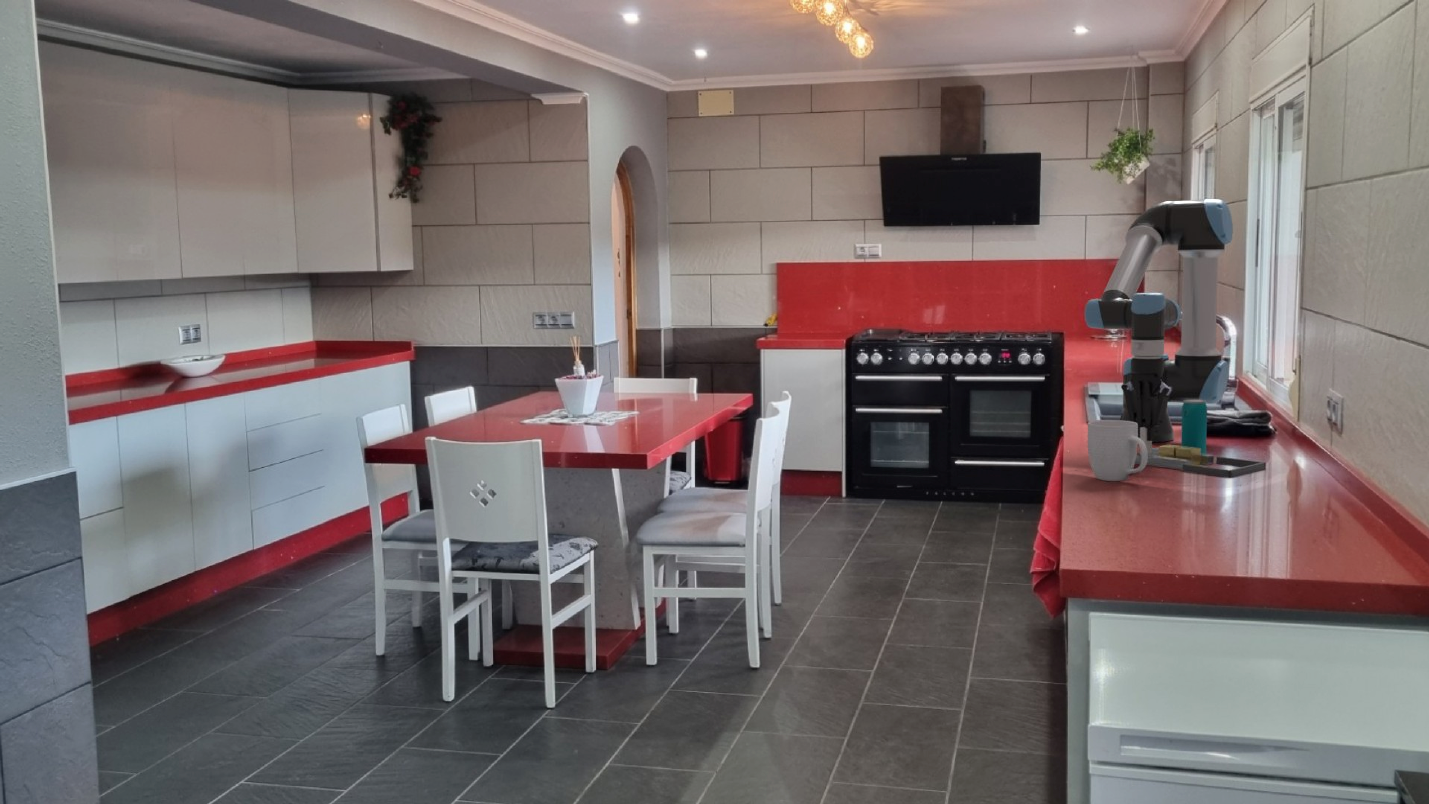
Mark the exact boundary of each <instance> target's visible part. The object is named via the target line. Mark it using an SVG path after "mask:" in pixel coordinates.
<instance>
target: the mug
mask: <svg viewBox="0 0 1429 804" xmlns="http://www.w3.org/2000/svg"><path fill="white" fill-rule="evenodd" d="M1138 446H1139V451H1140V450H1141V455H1142V459H1141V464H1139V465H1138V467H1136V468H1134V467H1135V464H1136V463H1135V460H1136V455H1137V453H1138ZM1087 453H1088V460H1089V464H1090V467H1091V470H1092V472H1093V475H1094V476H1095V477H1096V479H1098V480H1099V481H1100V480H1101V481H1107V482H1122V481H1126V480H1127V479H1128V478H1129V477H1130V475H1131V474H1136V473H1140V472H1141V471H1143V470H1144V469H1145V468H1146V466H1147V465H1146V464H1147V461H1148V451H1147V448H1146V445H1145V443H1144V442H1143V440H1141V439H1140V438H1138V424H1137V423H1136V422H1132V421H1123V420H1120V419H1097V420H1091V421H1088V422H1087Z"/></svg>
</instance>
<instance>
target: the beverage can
mask: <svg viewBox="0 0 1429 804" xmlns="http://www.w3.org/2000/svg"><path fill="white" fill-rule="evenodd" d="M1205 402H1206V401H1205V400H1199V399H1188V400H1184V403H1182V406H1181V437H1180V438H1181V442H1180V443H1181V444H1180V446H1183V447H1185V446H1186V447H1194V448H1201V454H1207V431H1208V430H1207V428H1208V427H1207V425H1208V424H1207V422H1208V407H1207V404H1206V403H1205Z"/></svg>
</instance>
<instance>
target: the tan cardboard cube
mask: <svg viewBox="0 0 1429 804" xmlns="http://www.w3.org/2000/svg"><path fill="white" fill-rule="evenodd" d="M1176 458H1179V459H1187V460H1192V462H1191V465H1195V466H1198V465H1200V460H1201V448H1194V447H1186V446H1185V447H1180V448H1176Z"/></svg>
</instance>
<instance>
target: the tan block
mask: <svg viewBox="0 0 1429 804" xmlns="http://www.w3.org/2000/svg"><path fill="white" fill-rule="evenodd" d="M1180 447H1183V446H1181V445H1176V444H1164V445H1158V448H1159V456H1164V457H1172V458H1176V448H1180Z"/></svg>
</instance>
